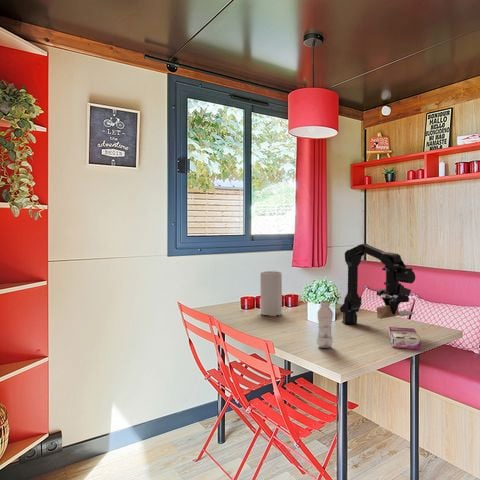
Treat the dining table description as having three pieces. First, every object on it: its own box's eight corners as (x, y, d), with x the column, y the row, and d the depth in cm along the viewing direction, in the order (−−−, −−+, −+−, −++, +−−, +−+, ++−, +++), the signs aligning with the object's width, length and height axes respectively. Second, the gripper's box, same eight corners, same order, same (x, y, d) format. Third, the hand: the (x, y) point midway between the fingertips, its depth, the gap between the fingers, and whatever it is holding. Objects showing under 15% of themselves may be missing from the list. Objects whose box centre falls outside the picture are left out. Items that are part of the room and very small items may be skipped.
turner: (383, 319, 171) (382, 309, 171) (375, 316, 177) (374, 306, 176) (414, 313, 175) (413, 303, 175) (405, 311, 181) (404, 301, 181)
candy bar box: (388, 337, 176) (391, 347, 160) (388, 326, 176) (392, 336, 160) (414, 339, 173) (420, 350, 157) (414, 328, 172) (420, 338, 157)
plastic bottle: (315, 345, 164) (315, 300, 164) (330, 344, 165) (330, 299, 164) (319, 350, 158) (319, 303, 157) (335, 349, 159) (335, 302, 158)
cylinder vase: (282, 316, 216) (282, 273, 215) (261, 316, 216) (260, 273, 215) (280, 311, 229) (280, 271, 228) (260, 311, 229) (260, 271, 228)
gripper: (420, 283, 167) (419, 317, 167) (397, 277, 185) (397, 308, 186) (397, 283, 165) (396, 318, 166) (376, 278, 184) (376, 309, 185)
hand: (391, 313), depth 176 cm, fingers closed on turner, 3 cm apart
